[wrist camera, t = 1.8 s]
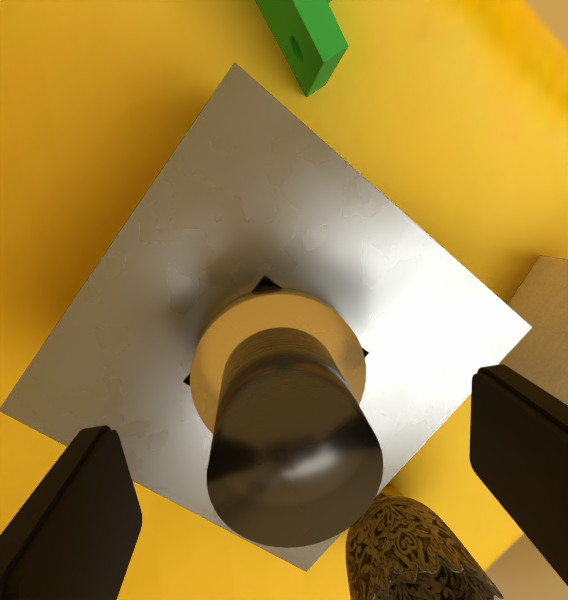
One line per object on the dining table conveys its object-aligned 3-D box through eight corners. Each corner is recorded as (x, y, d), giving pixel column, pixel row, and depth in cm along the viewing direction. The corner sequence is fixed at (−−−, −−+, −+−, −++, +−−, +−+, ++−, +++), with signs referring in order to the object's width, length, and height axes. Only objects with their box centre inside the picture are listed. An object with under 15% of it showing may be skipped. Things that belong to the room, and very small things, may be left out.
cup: (316, 469, 23) (349, 597, 16) (423, 445, 24) (507, 558, 16) (333, 554, 25) (370, 705, 18) (431, 530, 26) (509, 668, 18)
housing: (292, 482, 23) (306, 571, 18) (71, 352, 20) (-2, 410, 14) (455, 295, 21) (531, 327, 15) (239, 110, 18) (234, 62, 12)
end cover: (281, 406, 21) (316, 617, 10) (183, 342, 19) (98, 511, 8) (355, 316, 20) (482, 443, 9) (258, 242, 18) (271, 288, 7)
